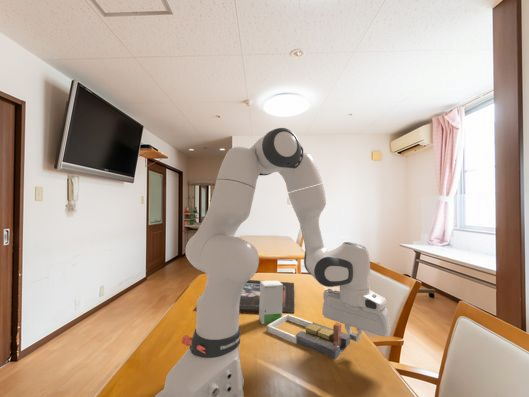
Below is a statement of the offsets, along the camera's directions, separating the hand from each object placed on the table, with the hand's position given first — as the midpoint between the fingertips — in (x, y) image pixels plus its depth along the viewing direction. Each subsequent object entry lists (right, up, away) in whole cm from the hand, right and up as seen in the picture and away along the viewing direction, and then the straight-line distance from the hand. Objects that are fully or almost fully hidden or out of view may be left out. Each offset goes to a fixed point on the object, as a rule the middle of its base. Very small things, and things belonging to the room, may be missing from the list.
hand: (353, 340), depth 78 cm
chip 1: (-11, -5, +9) cm, 15 cm away
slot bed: (-8, -6, +7) cm, 12 cm away
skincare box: (-25, -6, +23) cm, 35 cm away
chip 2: (-7, -5, +6) cm, 10 cm away
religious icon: (-35, -7, +51) cm, 62 cm away
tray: (-18, -6, +15) cm, 24 cm away
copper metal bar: (-4, -4, +3) cm, 7 cm away
